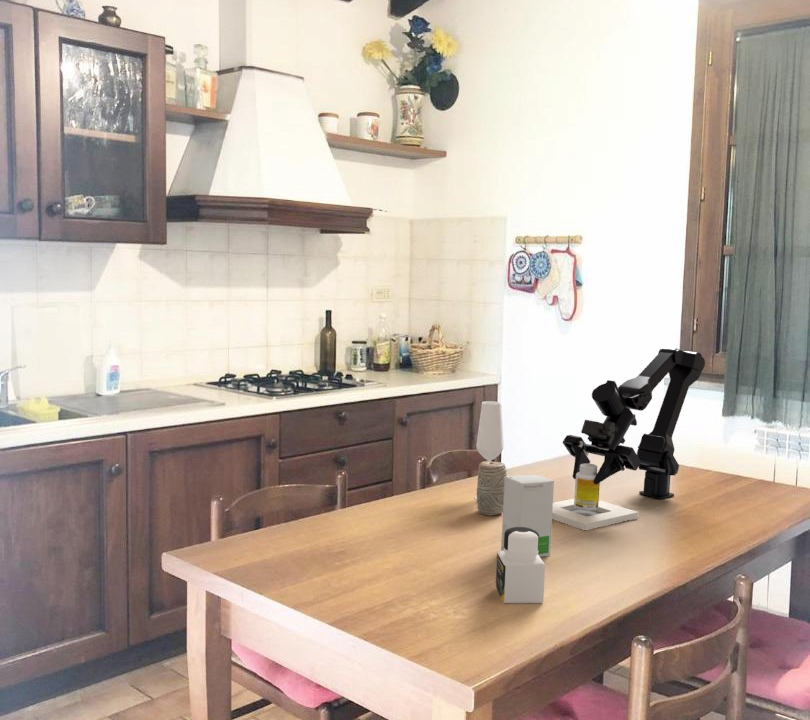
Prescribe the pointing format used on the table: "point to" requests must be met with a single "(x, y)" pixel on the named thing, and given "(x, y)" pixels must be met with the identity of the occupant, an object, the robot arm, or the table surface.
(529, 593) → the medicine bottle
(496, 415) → the champagne flute
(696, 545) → the table surface
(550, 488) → the skincare box
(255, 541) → the table surface
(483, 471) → the carving
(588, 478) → the supplement bottle
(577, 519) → the socket plate
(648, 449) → the robot arm
